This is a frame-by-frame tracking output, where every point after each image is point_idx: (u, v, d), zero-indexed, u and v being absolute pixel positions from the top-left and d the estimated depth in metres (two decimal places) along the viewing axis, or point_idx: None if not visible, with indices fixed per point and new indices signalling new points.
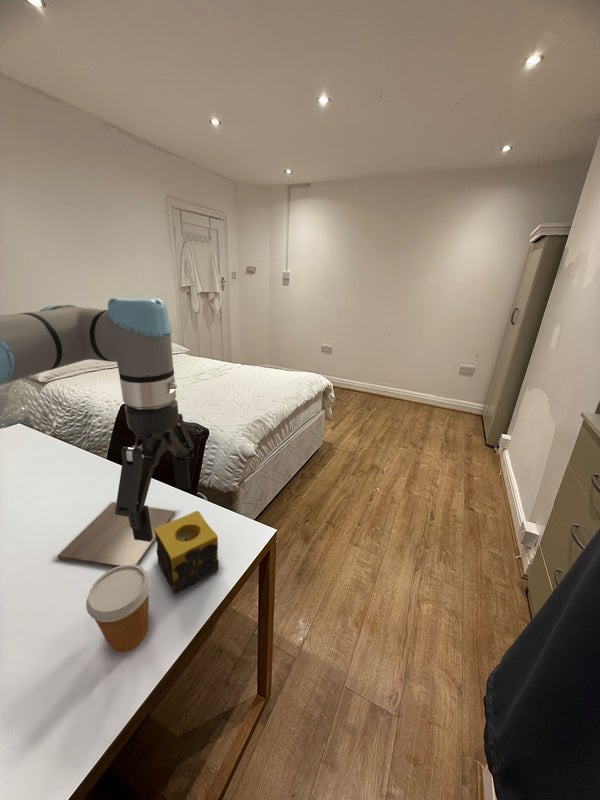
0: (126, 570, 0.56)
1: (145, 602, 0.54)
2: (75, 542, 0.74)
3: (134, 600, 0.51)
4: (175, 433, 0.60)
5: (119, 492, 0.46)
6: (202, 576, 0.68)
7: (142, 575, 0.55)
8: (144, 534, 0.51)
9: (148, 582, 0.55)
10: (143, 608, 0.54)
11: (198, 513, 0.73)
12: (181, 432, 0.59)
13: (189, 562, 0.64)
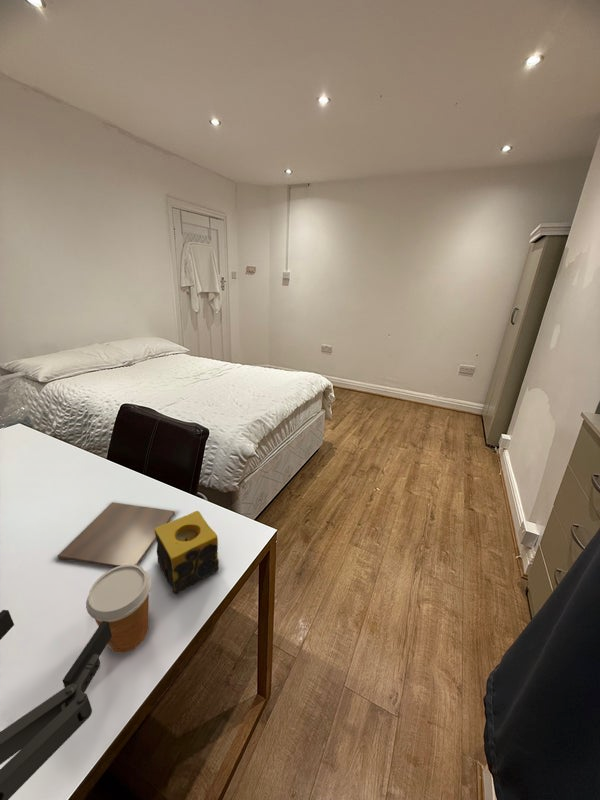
0: (126, 570, 0.56)
1: (145, 602, 0.54)
2: (75, 542, 0.74)
3: (134, 600, 0.51)
4: None
5: None
6: (202, 576, 0.68)
7: (142, 575, 0.55)
8: None
9: (148, 582, 0.55)
10: (143, 608, 0.54)
11: (198, 513, 0.73)
12: None
13: (189, 562, 0.64)
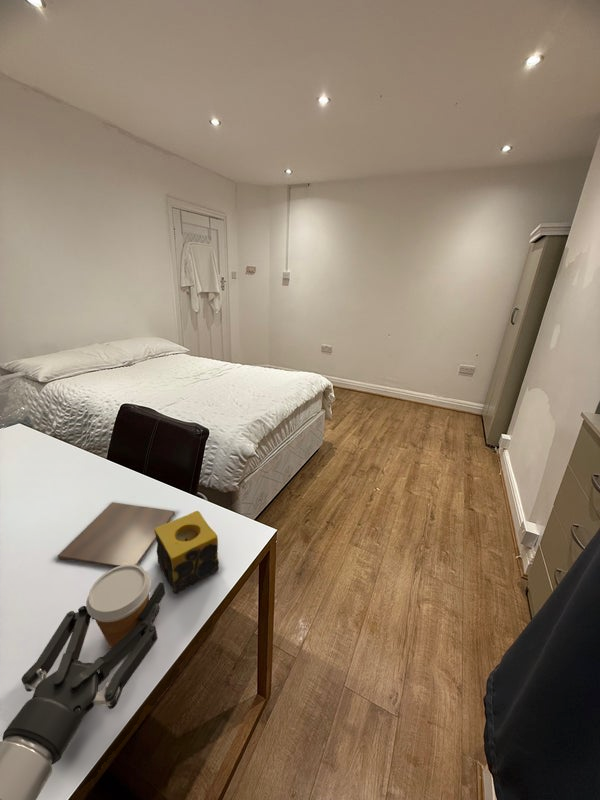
0: (126, 570, 0.56)
1: (145, 602, 0.54)
2: (75, 542, 0.74)
3: (134, 600, 0.51)
4: None
5: (55, 632, 0.50)
6: (202, 576, 0.68)
7: (142, 575, 0.55)
8: None
9: (148, 582, 0.55)
10: None
11: (198, 513, 0.73)
12: None
13: (189, 562, 0.64)
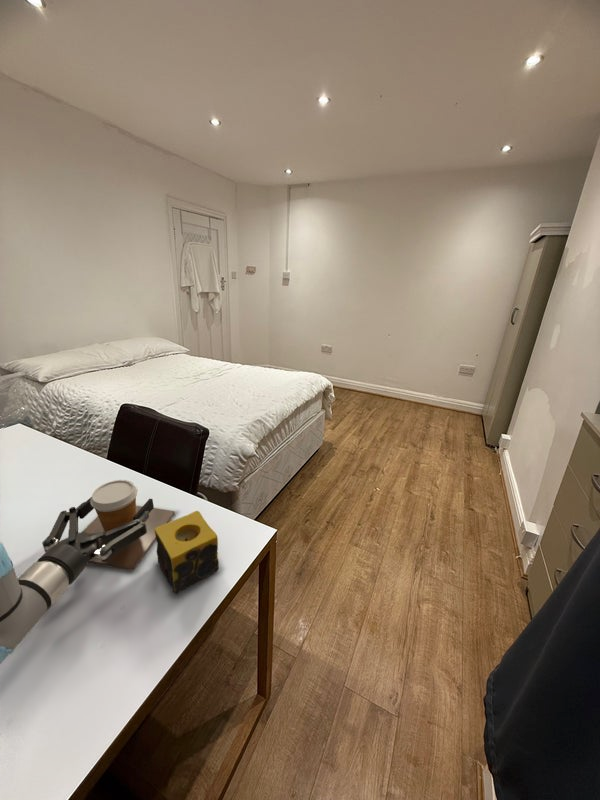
0: (119, 483, 0.77)
1: (133, 504, 0.75)
2: None
3: (124, 498, 0.72)
4: None
5: (56, 522, 0.70)
6: (202, 576, 0.68)
7: (131, 486, 0.76)
8: None
9: (135, 490, 0.75)
10: (131, 508, 0.75)
11: (198, 513, 0.73)
12: None
13: (189, 562, 0.64)
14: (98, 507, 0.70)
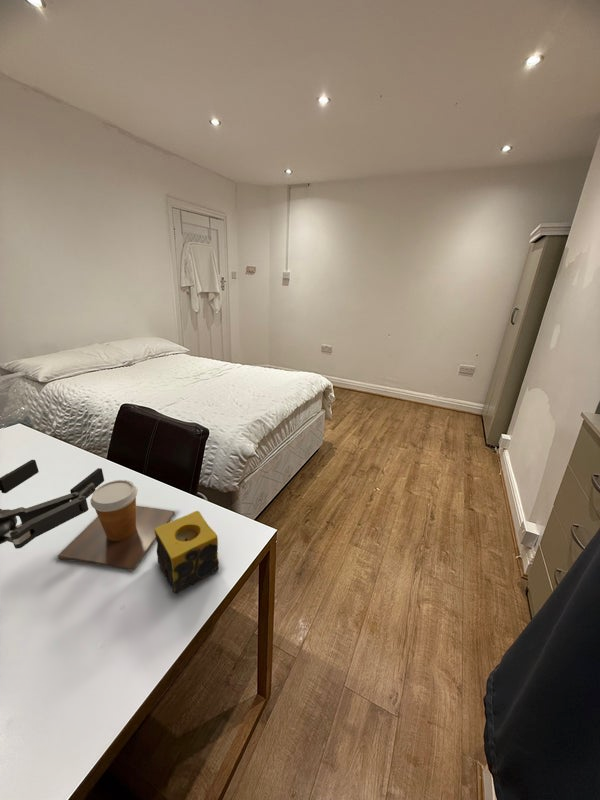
0: (119, 483, 0.77)
1: (133, 504, 0.75)
2: (75, 542, 0.74)
3: (124, 498, 0.72)
4: None
5: None
6: (202, 576, 0.68)
7: (131, 486, 0.76)
8: None
9: (135, 490, 0.75)
10: (131, 508, 0.75)
11: (198, 513, 0.73)
12: None
13: (189, 562, 0.64)
14: (98, 507, 0.70)
